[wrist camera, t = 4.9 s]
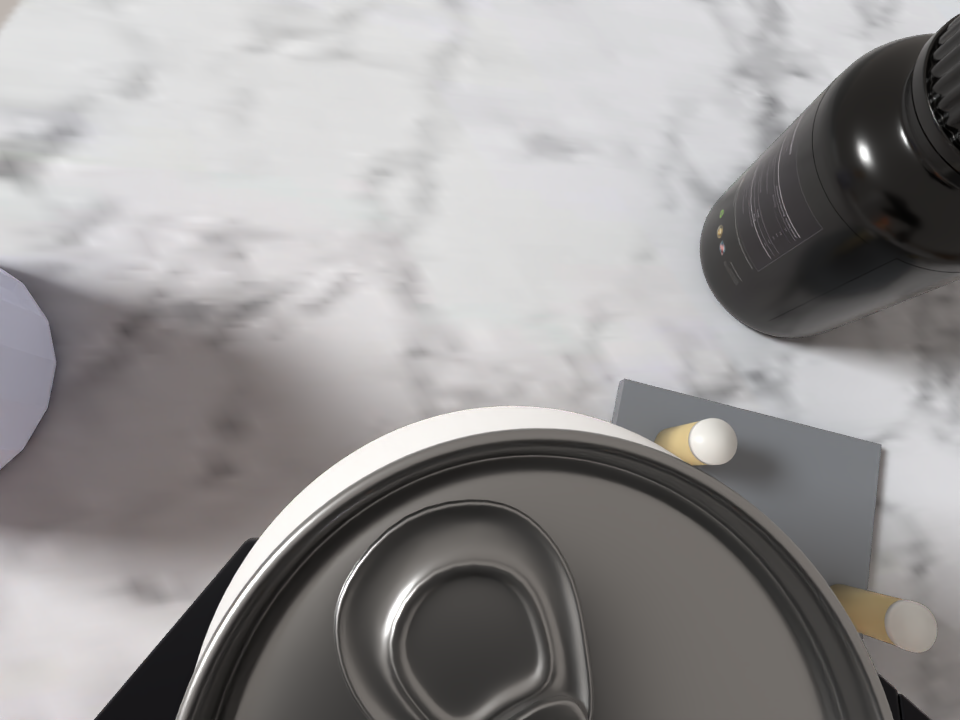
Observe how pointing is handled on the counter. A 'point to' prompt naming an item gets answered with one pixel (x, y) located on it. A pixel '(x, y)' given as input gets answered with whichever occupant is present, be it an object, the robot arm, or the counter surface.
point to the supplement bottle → (848, 198)
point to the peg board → (789, 492)
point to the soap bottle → (22, 366)
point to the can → (527, 590)
